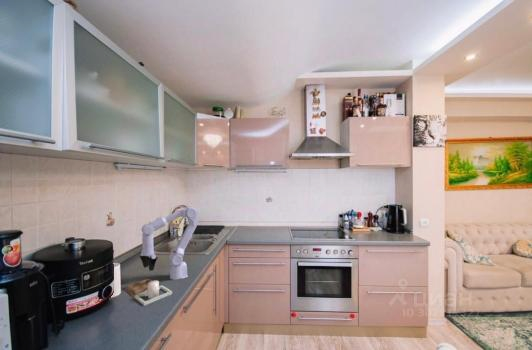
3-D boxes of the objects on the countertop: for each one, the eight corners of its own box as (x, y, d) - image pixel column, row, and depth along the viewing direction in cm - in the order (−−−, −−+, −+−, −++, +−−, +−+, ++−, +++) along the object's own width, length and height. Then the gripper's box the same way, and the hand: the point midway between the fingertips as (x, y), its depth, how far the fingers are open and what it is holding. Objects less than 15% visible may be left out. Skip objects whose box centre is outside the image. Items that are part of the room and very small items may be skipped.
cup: (124, 291, 129) (123, 262, 129) (115, 299, 121) (114, 268, 121) (108, 292, 129) (107, 263, 129) (98, 300, 120) (97, 269, 120)
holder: (150, 281, 140) (149, 277, 140) (161, 288, 131) (161, 283, 131) (124, 291, 130) (123, 286, 129) (134, 299, 120) (134, 294, 120)
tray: (162, 289, 130) (162, 285, 130) (172, 295, 123) (172, 291, 123) (135, 300, 120) (134, 295, 120) (144, 307, 113) (144, 302, 113)
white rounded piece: (156, 292, 125) (156, 279, 125) (160, 296, 122) (160, 282, 121) (143, 297, 120) (143, 284, 120) (147, 301, 117) (147, 287, 117)
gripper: (135, 244, 138) (136, 267, 138) (146, 249, 128) (147, 274, 129) (147, 241, 143) (148, 264, 143) (159, 245, 134) (159, 269, 134)
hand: (148, 268), depth 136 cm, fingers open, 7 cm apart
